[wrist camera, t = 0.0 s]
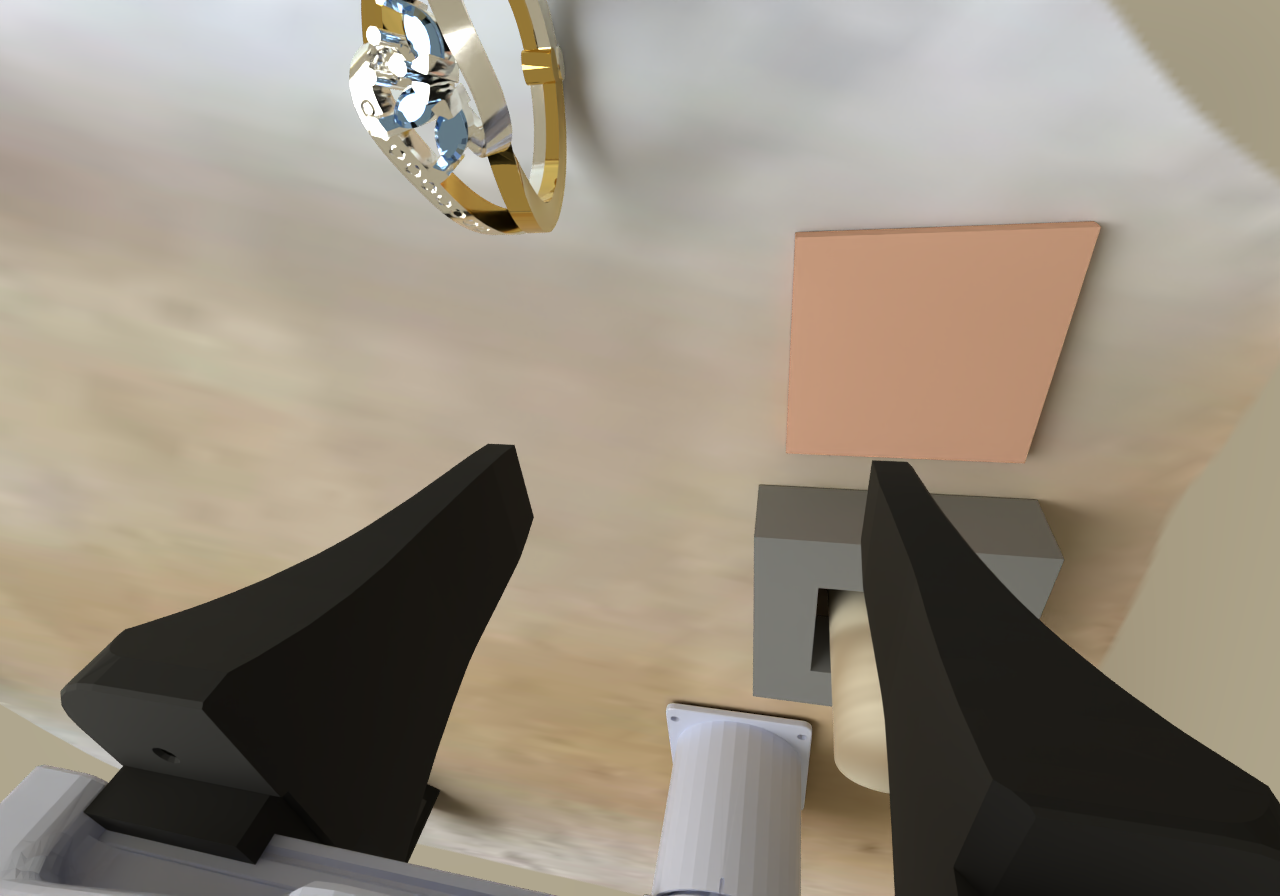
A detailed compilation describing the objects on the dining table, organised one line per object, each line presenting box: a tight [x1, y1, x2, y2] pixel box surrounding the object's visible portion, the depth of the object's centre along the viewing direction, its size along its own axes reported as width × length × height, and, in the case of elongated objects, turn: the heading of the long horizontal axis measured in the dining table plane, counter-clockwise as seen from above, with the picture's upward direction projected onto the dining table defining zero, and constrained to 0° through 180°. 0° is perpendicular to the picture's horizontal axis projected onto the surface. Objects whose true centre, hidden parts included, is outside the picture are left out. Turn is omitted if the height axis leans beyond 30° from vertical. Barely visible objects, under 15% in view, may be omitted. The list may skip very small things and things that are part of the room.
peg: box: [828, 589, 890, 794], centre depth 24 cm, size 4×4×8 cm
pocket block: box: [753, 485, 1064, 706], centre depth 25 cm, size 10×10×3 cm
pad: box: [786, 221, 1101, 463], centre depth 20 cm, size 8×8×1 cm
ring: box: [349, 0, 566, 235], centre depth 15 cm, size 7×3×8 cm, turn 4°
